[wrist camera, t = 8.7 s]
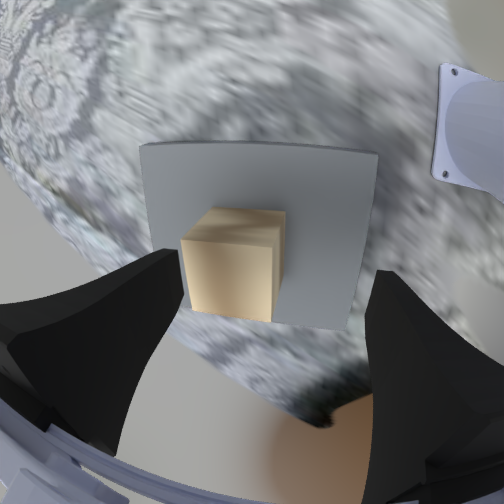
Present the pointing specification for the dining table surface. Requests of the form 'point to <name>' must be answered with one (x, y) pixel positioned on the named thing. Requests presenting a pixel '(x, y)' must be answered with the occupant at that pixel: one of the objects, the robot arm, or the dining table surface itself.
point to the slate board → (278, 199)
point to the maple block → (235, 262)
